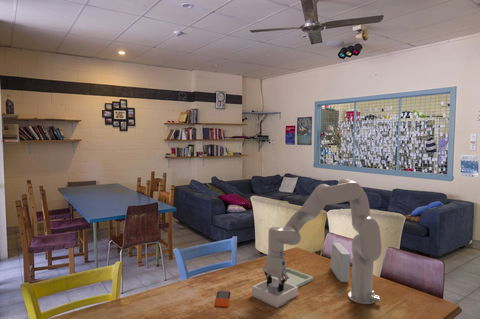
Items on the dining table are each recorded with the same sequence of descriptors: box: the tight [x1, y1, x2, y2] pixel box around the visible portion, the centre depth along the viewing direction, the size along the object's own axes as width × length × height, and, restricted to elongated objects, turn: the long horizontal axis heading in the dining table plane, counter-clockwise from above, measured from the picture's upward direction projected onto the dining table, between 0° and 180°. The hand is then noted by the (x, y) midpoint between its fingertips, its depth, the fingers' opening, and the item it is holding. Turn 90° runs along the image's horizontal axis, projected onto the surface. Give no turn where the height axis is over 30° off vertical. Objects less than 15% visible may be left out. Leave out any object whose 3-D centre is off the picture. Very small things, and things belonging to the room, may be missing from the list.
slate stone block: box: [268, 282, 282, 296], centre depth 162 cm, size 5×5×5 cm
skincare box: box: [329, 242, 351, 283], centre depth 189 cm, size 21×6×16 cm, turn 179°
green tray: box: [271, 266, 314, 289], centre depth 180 cm, size 18×18×2 cm
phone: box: [213, 290, 231, 309], centre depth 159 cm, size 6×1×15 cm
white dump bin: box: [251, 277, 299, 309], centre depth 162 cm, size 16×16×5 cm
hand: (275, 288), depth 162 cm, fingers open, 6 cm apart
